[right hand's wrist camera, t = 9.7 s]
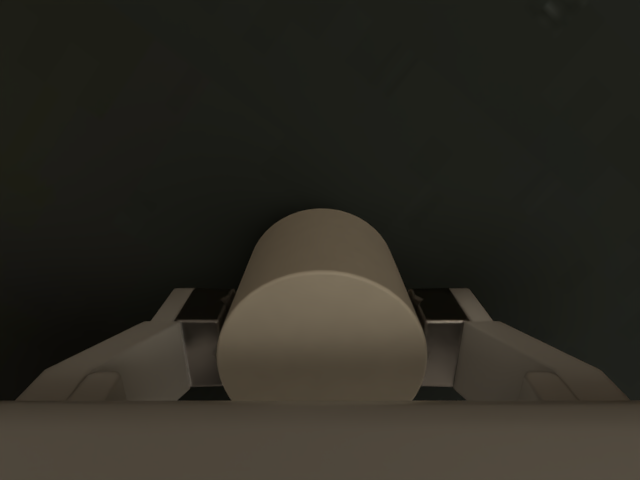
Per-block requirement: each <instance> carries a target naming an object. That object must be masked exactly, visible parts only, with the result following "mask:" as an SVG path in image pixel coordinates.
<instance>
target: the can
mask: <svg viewBox="0 0 640 480" xmlns="http://www.w3.org/2000/svg"><path fill="white" fill-rule="evenodd" d="M216 357H217V367H218V371H219V376H220V379H221V382H222V384H223V387H224V389H225V391H226V392H227V394H228V396H229V398H230V399H231V400H232V401H412V400H413V399H414V397H415V396H416V394H417V392H418V390H419V388H420V386H421V384H422V381H423V378H424V375H425V371H426V366H427V344H426V338H425V335H424V332H423V329H422V326H421V324H420V322H419V319H418V317H417V314H416V312H415V310H414V307H413V305H412V302H411V300H410V298H409V295H408V293H407V290H406V288H405V286H404V283H403V281H402V279H401V276H400V274H399V271H398V269H397V267H396V264H395V262H394V259H393V257H392V255H391V252H390V250H389V248H388V246H387V244H386V242H385V241H384V239H383V238H382V237H381V235H380V234H379V233H378V232H377V231H376V230H375V229H374V228H373V227H372V226H370V225H369V224H368V223H367V222H365V221H363V220H362V219H360V218H359V217H356V216H354V215H352V214H350V213H346V212H343V211H339V210H333V209H309V210H304V211H300V212H297V213H294V214H291V215H289V216H287V217H285V218H283V219H281V220H279V221H278V222H277V223H275V224H274V225H272V226H271V227H270V228H269V229H268V230H267V231H266V232H265V233H264V234H263V236H262V237H261V238H260V239H259V241H258V243H257V244H256V246H255V248H254V250H253V253H252V255H251V257H250V260H249V262H248V265H247V267H246V270H245V272H244V275H243V277H242V280H241V282H240V285H239V287H238V290H237V292H236V294H235V297H234V299H233V302H232V304H231V307H230V309H229V312H228V314H227V317H226V319H225V322H224V324H223V327H222V329H221V331H220V335H219V339H218V343H217V353H216Z"/></svg>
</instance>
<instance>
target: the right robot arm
mask: <svg viewBox="0 0 640 480" xmlns="http://www.w3.org/2000/svg"><path fill="white" fill-rule="evenodd" d="M235 294H236V292H235V290H234V289H213V288H176V289H174V290H173V291H172V292H171V294H170V295H169V296H168V298H167V299H166V301H165V302H164V303H163V305H162V306H161V307H160V309H159V310H158V312H157V313H156V314H155V316H154V317H153V318H152V320H151V321H144V322H142V323H140V324H138V325H136V326H134V327H132V328H130V329H127V330H125V331H123V332H121V333H119V334H117V335H115V336H113V337H111V338H109V339H107V340H105V341H103V342H101V343H99V344H97V345H95V346H93V347H90V348H88V349H86V350H84V351H82V352H80V353H78V354H76V355H74V356H72V357H70V358H68V359H66V360H64V361H62V362H60V363H58V364H56V365H53V366H51V367H49V368H47V369H45V370H44V371H43V372H42V373H41V374H40V375H39V376H38V377H37V378H36V379H35V380H34V381H33V382H32V383H31V384H30V385H29V386H28V388H27V389H26V390H25V391H24V392H23V393H22V394H21V395H20V396H19V397H18V398H17V399H16V400H15V401H0V480H640V401H631V400H630V399H629V398H628V397H627V396H626V395H625V394H624V393H623V392H622V391H621V390H620V389H619V388H618V387H617V386H616V385H615V384H614V383H613V382H612V381H611V380H610V379H609V378H608V377H607V376H606V375H605V374H604V373H603V372H602V371H601V370H599V369H597V368H595V367H593V366H591V365H589V364H587V363H585V362H583V361H581V360H579V359H577V358H574V357H572V356H570V355H568V354H566V353H564V352H562V351H560V350H558V349H556V348H554V347H552V346H550V345H548V344H545V343H543V342H541V341H539V340H537V339H535V338H533V337H531V336H529V335H527V334H525V333H523V332H521V331H519V330H517V329H514V328H512V327H510V326H508V325H506V324H504V323H502V322H500V321H493V320H492V319H491V317H490V316H489V315H488V313H487V312H486V311H485V309H484V308H483V307H482V305H481V304H480V303H479V301H478V300H477V299H476V297H475V296H474V295H473V293H472V292H471V291H470V289H468V288H432V289H409V290H408V295H409V298H410V300H411V302H412V305H413V307H414V310H415V312H416V314H417V317H418V319H419V322H420V324H421V326H422V329H423V332H424V335H425V338H426V344H427V366H426V371H425V375H424V378H423V381H422V384H421V386H441V387H454V389H455V390H456V391H457V392H458V393H459V394H460V395H461V396H462V397H464V398H465V399H466V400H467V401H177V400H178V399H179V398H180V397H181V396H183V395H184V394H185V393H186V392H187V391H188V390H189V389H190V387H202V386H223V384H222V382H221V379H220V376H219V371H218V367H217V357H216V353H217V343H218V339H219V335H220V331H221V329H222V327H223V324H224V322H225V319H226V317H227V314H228V312H229V309H230V307H231V304H232V302H233V299H234V297H235Z"/></svg>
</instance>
